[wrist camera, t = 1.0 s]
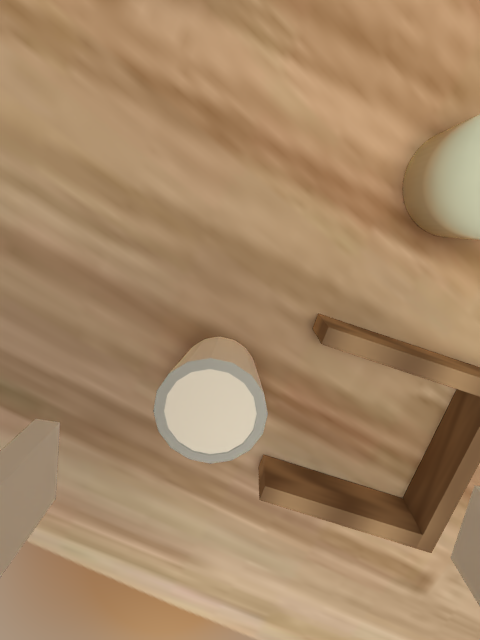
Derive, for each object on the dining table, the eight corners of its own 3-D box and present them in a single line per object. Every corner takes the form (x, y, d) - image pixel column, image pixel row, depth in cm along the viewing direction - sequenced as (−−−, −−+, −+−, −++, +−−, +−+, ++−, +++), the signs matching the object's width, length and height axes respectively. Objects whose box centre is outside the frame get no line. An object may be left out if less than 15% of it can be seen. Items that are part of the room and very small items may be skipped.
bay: (258, 467, 33) (259, 500, 29) (318, 313, 30) (328, 327, 26) (410, 514, 34) (431, 552, 30) (484, 369, 31) (518, 390, 27)
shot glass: (219, 309, 30) (210, 334, 23) (282, 373, 31) (291, 415, 24) (155, 370, 31) (129, 411, 24) (218, 429, 32) (210, 485, 26)
